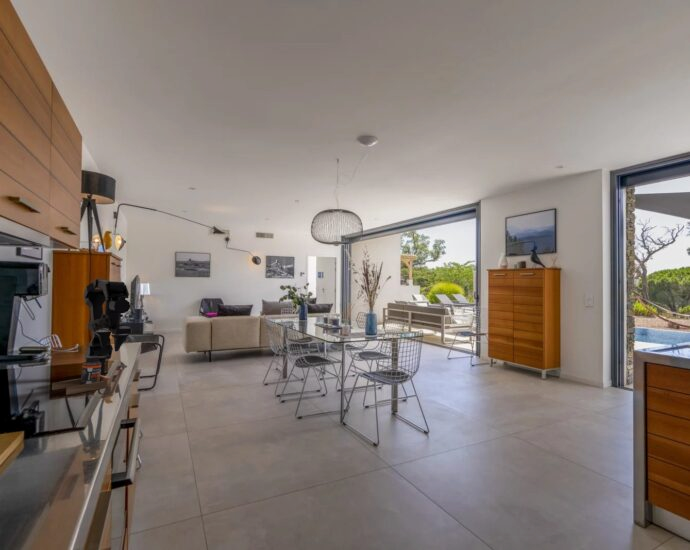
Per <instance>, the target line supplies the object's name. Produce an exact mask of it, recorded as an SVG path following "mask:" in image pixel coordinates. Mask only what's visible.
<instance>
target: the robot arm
mask: <svg viewBox="0 0 690 550" xmlns="http://www.w3.org/2000/svg"><path fill="white" fill-rule="evenodd" d="M129 295H130V293H129V290H128V287H127V284H126V283H125V282H124V281H111V280H109V279H107V278H95V279H94V280H93V282H91V283H89V284H88V285H87V286H85V289H84V291H83V299H84V301H85V305H86V306H87V307H88V308H89V309H90V321H89V322H87V327H88V331H91V334H92V335H91V336H92V339H91V341H89V343H88V347H87V348H86V351H85V353H84V360H85V361H86V357H88V356H99V361H100V362H101V373H100V375H104V374H108V373H109V371H106V360H107V359H109V360H110V359H111V357H112V355H113V354H112V353H113V350H114V352H119V350H120V349H121V347H122V346H123V344H124V342H125V341H126V339H127V337H129V336H130V334H132V332H133V328H132V327H130V326H126V325H123V324H121V318H123V317H124V314H126V313H127V312H129V310H130V309H131V304H130V301H129V300H127V299H129ZM103 304H105V307H104V309H103ZM111 337H112V338H113V345H114V347H113V345H112V343H111V342H112V341H111Z"/></svg>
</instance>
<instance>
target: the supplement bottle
mask: <svg viewBox="0 0 690 550" xmlns="http://www.w3.org/2000/svg"><path fill="white" fill-rule="evenodd" d="M81 367H82V368H81V376H80V378H81V385H83V384H89V383H95V382H100V375H101V374H100V373H101V362H100V361H99V356H88V357H86V360H85V362H83V364H82V366H81Z"/></svg>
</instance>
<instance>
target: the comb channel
mask: <svg viewBox="0 0 690 550" xmlns="http://www.w3.org/2000/svg"><path fill="white" fill-rule="evenodd" d="M51 385H52V386H51V391H57V390H64V389H65V396H70V395H75V394H81V393H85V392H90V391H95V390H101V388H102V389H105V388H106V389H107V388H110V387H111V377H109V376H106V375H104V374H100V382H95V383H89V384H83V385H81V377H80V378H75V379H69V380H63V381H58V382H57V381H56V382H52V384H51Z"/></svg>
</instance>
